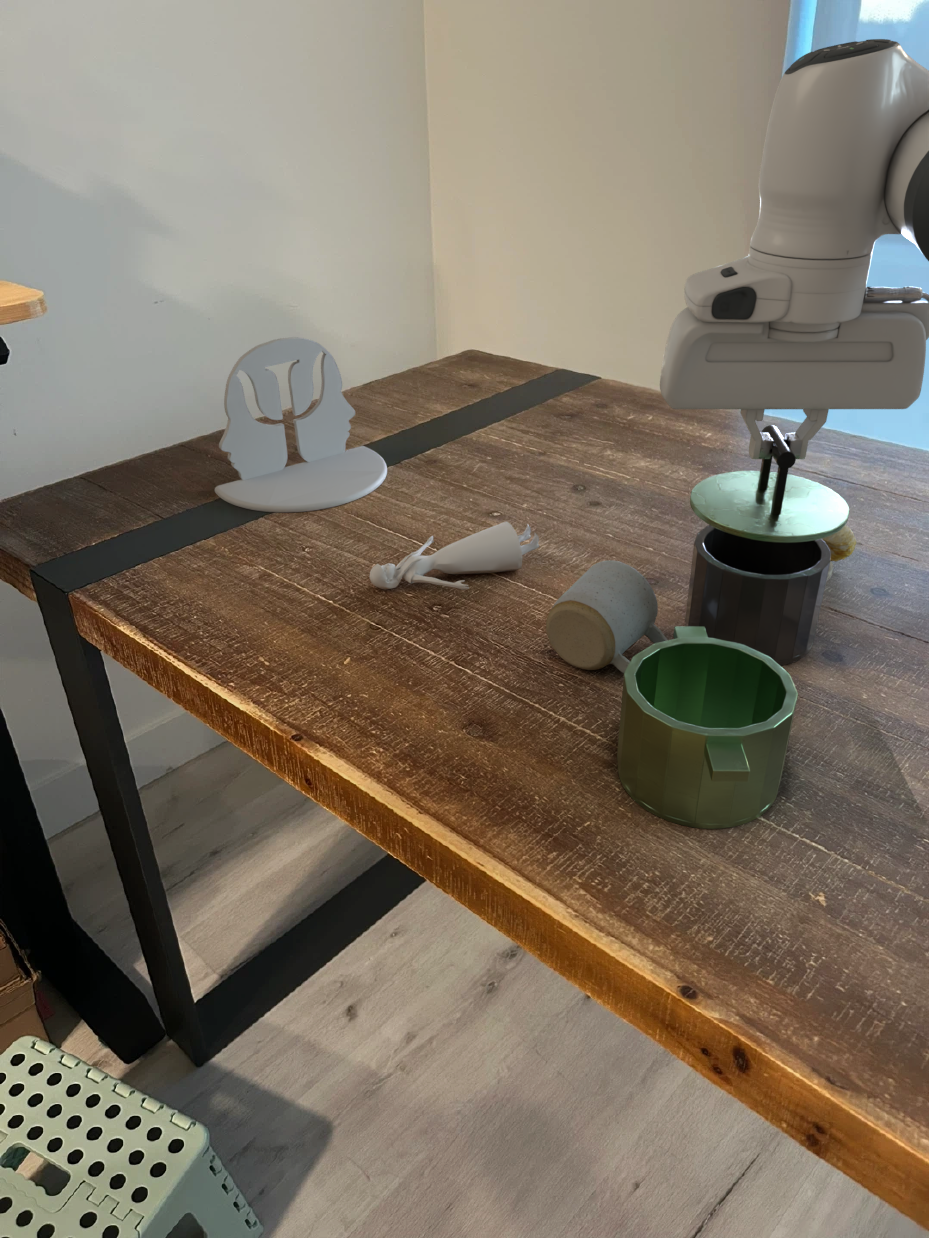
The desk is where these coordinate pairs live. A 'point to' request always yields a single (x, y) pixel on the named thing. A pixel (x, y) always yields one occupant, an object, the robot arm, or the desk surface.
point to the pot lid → (770, 501)
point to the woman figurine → (460, 558)
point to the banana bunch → (840, 546)
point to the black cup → (758, 592)
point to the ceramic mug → (603, 616)
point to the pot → (704, 730)
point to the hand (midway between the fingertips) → (775, 456)
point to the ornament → (317, 433)
